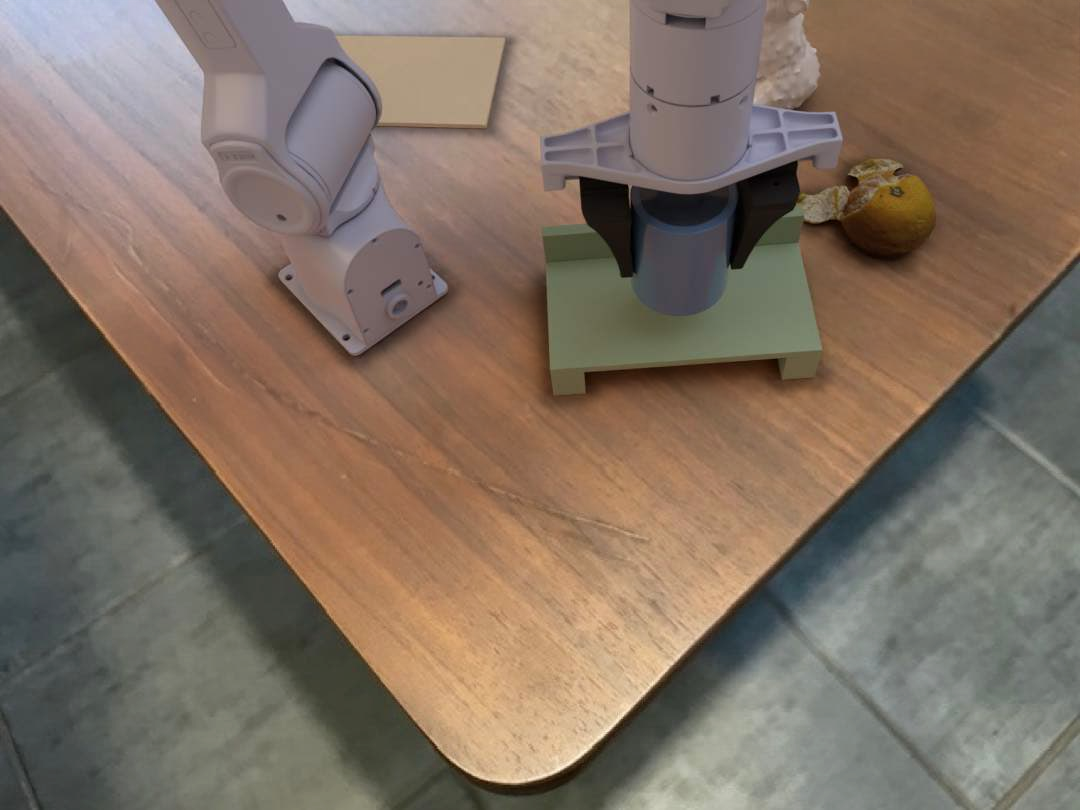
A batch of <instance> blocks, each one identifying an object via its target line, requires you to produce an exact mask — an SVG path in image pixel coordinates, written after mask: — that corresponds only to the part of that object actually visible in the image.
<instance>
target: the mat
mask: <svg viewBox="0 0 1080 810" xmlns="http://www.w3.org/2000/svg"><path fill="white" fill-rule="evenodd" d="M335 36H336V38H337V40H338V42H339V44H340V45H341V47H342V49H343V50H344V51H345V53H346V54H347V55H348V56H349V57H350V58H351V59H352V60H353V61H354V62H355V63H356V64H357V65H358V66H359V67H360V68H361V69H363V70H364V71H365V72H366V74H367V75H368V76H369V77H370V78H371V79H372V81H373V82H374V84H375V85H376V87H377V89H378V91H379V93H380V96H381V99H382V115H381V118H380V120H379V122H378V124H377V125H376V126H375V127H378V126H379V127H407V128H408V127H409V128H447V129H449V128H452V129H487V128H488V123H489V118H490V114H491V110H492V106H493V100H494V96H495V92H496V87H497V83H498V78H499V75H500V68H501V63H502V61H503V60H502V59H503V55H504V50H505V46H506V42H507V41H506V37H504V36H503V37H501V36H500V37H497V36H496V37H490V36H412V35H410V36H409V35H407V36H406V35H335Z"/></svg>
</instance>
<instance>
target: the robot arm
mask: <svg viewBox="0 0 1080 810" xmlns="http://www.w3.org/2000/svg"><path fill="white" fill-rule="evenodd" d="M154 2H155V3H156V5H157V6H158V8H159V9H160V10H161V12H162V13H163V15H164V17H165V18H166V20H167V21H168V22H169V24H170V26H171V27H172V28H173V30H174V31H175V33H176V34H177V36H178V37H179V39H180V40H181V41H182V43H183V44H184V46H185V47H186V49H187V50H188V52H189V53H190V55H191V56H192V58H193V59H194V61H195V63H196V64H197V65H198V67H199V68H200V70H201V71H202V73H203V93H202V94H203V95H202V106H201V119H200V142H201V143H202V146H203V147H204V148H205V149H206V151H207V152H208V153H209V155H210V157H211V158H212V160H213V161H214V164H215V166H216V168H217V173H218V179H219V183H220V185H221V188H222V190H223V192H224V193H225V196H226V197H227V198H228V199H229V201H230V202H231V204H232V205H233V207H235V209H236V210H238V211H239V213H241V214H242V215H243V216H244V217H246V219H248V220H249V221H251V222H252V223H253V224H255V225H257V226H258V227H261V228H262V229H265V230H267V231H270V232H273V233H276V235H277V237H278V239H279V241H280V243H281V245H282V247H283V249H284V252H285V254H286V256H287V258H288V260H289V264H288V265H287V266H285V267H283V268H281V269H280V270H279V272H278V273H277V277H278V279H279V280H280V282H281V283H282V284H283V285H284V286H285V287H286V288H287V289H288V290H289V291H290V293H292V294H293V295H294V297H296V298H297V300H298V301H299V302H300V303H301V304H302V305H303V306H304V307H305V308H306V310H307V311H309V313H311V314H312V316H314V318H315V319H316V320H317V321H318V322H319V323H320V324H321V325H322V326H323V327H324V328H325V330H327V331H328V333H329V334H330V335H331V336H332V337H333V338H334V339H335V340H336V341H337V342H338V343H339V344H340V345H341V346H342V347H343V348H344V349H345V351H347V353H348V354H350V355H351V356H354V357H357V356H360V355H361V354H363V353H364V352H366V351H367V350H369V349H370V348H371V347H373V346H375V345H376V344H377V343H378V342H380V341H382V339H385V338H386V337H387V336H388V335H390V334H391V333H393V332H394V331H395V330H397V329H398V328H399V327H401V326H402V325H404V324H406V323H407V322H408V321H409V320H411V319H412V318H413V317H415V316H417V315H418V314H419V313H421V312H422V311H424V310H425V309H426V308H428V307H429V306H430V305H432V304H433V303H435V302H436V301H438V300H439V299H441V298H442V297H443V296H444V295H445V294H447V293H448V291H449V287H448V283H447V282H446V281H445V280H444V279H442V278H441V276H439V275H438V274H437V273H436V272H435V271H434V270H433V269H432V268H431V267H430V265H429V262H428V258H427V255H426V252H425V248H424V245H423V241H422V239H421V237H420V235H419V234H418V233H417V231H416V230H415V229H414V228H413V227H412V226H411V225H410V224H409V223H408V222H406V220H405V219H404V218H403V217H401V215H400V214H399V213H398V212H397V210H396V209H395V207H394V205H392V203H391V201H390V199H389V197H388V194H387V192H386V190H385V187H384V183H383V180H382V177H381V174H380V171H379V168H378V165H377V161H376V158H375V156H374V154H375V151H376V146H375V142H374V139H373V135H372V133H371V132H372V131H373V130H374V129H375V128H376V127H377V126H376V125H377V124H378V122H379V120H380V118H381V115H382V99H381V96H380V93H379V91H378V89H377V87H376V85H375V84H374V82H373V81H372V79H371V78H370V77H369V76H368V75H367V74H366V72H365V71H364V70H363V69H361V68H360V67H359V66H358V65H357V64H356V63H355V62H354V61H353V60H352V59H351V58H350V57H349V56H348V55H347V54H346V53H345V51H344V50H343V49H342V47H341V45H340V44H339V42H338V40H337V38H336V36H337V35H336V34H335V33H334V31H333V29H331V28H330V27H328V26H325V25H320V24H316V23H310V22H303V21H295V20H294V18H293V16H292V14H291V13H290V11H289V9H288V7H287V6H286V4H285V2H284V0H154ZM766 7H767V0H629V110H628V111H625V112H623V113H620V114H617V115H614V116H611V117H608V118H604V119H602V120H600V121H597V122H593V123H591V124H588V125H585V126H581V127H579V128H576V129H573V130H570V131H566V132H561V133H557V134H548V135H541V136H539V147H540V149H539V150H540V168H541V175H542V184H543V186H542V187H543V191H544V192H555V191H562V190H564V189H565V188H566V187H567V186H566V185H567V183H566V181H576V180H578V181H579V196H580V210H581V213H582V214H581V215H582V216H583V219H584V221H585V224H586V223H587V225H588V226H589V227H591V228H592V229H593V230H595V231H596V232H597V233H598V234H599V235H600V236H601V237H602V238H603V240H604V241H605V242H606V244H607V245H608V246H609V248H610V250H611V251H612V253H613V255H614V257H615V259H616V262H617V264H618V267H619V270H620V277H622V278H628V277H633V262H632V253H631V244H630V233H631V222H632V220H631V210H630V187H629V186H631V187H632V186H637V187H643V188H648V189H654V190H659V191H665V192H670V193H677V194H700V193H705V192H709V191H713V190H716V189H719V188H722V187H724V186H727V185H730V184H733V183H735V182H736V184H737V187H738V192H739V199H738V206H737V214H736V221H735V229H734V236H733V244H732V251H731V259H730V266H731V270H735V269H742V268H743V267H744V265H745V263H746V261H747V259H748V257H749V255H750V254H751V252H752V250H753V249H754V247H755V246H756V244H757V243H758V241H759V240H760V239H761V237H762V236H763V235H764V233H765V232H766V231H767V230H768V229H769V228H770V227H771V226H772V225H773V224H774V223H775V222H776V221H778V220H779V219H780V218H782V217H783V216H784V215H786V214H788V213H789V212H791V211H793V210H794V208H795V206H796V203H797V201H798V198H799V196H800V193H801V186H800V181H799V178H798V173H797V172H798V168H799V167H798V166H799V163H800V162H809V161H810V162H811V161H812V167H813V168H814V169H816V170H829V169H836V168H837V165H838V161H839V157H840V153H841V150H842V145H843V141H844V138H843V134H842V130H841V127H840V124H839V120H838V117H837V112H836V111H802V110H794V109H793V110H788V109H781V108H775V107H769V106H762V105H756V104H753V101H754V93H755V86H756V78H757V71H758V66H759V59H760V51H761V44H762V36H763V29H764V22H765V14H766ZM346 339H347V340H346Z"/></svg>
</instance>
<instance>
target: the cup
mask: <svg viewBox="0 0 1080 810" xmlns="http://www.w3.org/2000/svg"><path fill="white" fill-rule="evenodd" d="M738 199H739V192H738V187H737V184H736V182H735V183H733V184H730V185H727V186H724V187H722V188H719V189H716V190H713V191H709V192H705V193H700V194H677V193H670V192H665V191H659V190H654V189H648V188H643V187H637V186H632V185H631V187H630V191H629V201H630V210H631V220H632V222H631V233H630V244H631V253H632V262H633V277H631V285H632V288H633V291H634V293H635V294H636V296H637V297H638V299H639V300H640V301H641V302H642V303H643V304H644V305H646V306H647V307H648V308H650V309H652V310H654V311H656V312H659V313H661V314H665V315H670V316H689V315H694V314H698V313H700V312H703V311H705V310H707V309H709V308H710V307H712V306H713V305H714V304H715V303H717V302H718V301H719V299H720V298H721V297H722V295H723V294H724V292H725V289H726V286H727V282H728V274H729V267H730V259H731V251H732V244H733V236H734V229H735V221H736V214H737V206H738Z"/></svg>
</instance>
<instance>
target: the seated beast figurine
mask: <svg viewBox="0 0 1080 810" xmlns="http://www.w3.org/2000/svg"><path fill="white" fill-rule="evenodd" d="M810 2H811V0H767V7H766V14H765V22H764V29H763V36H762V44H761V51H760V59H759V66H758V71H757V78H756V86H755V93H754V101H753V104H756V105H762V106H769V107H775V108H781V109H788V110H794V109H799V108H800V107H801V106H802V105H803V103H804V102H805V101H807V99H809V98H810V97H811V95H812V94H813V93H814V91H815V90H816V89H817V88H818V81H819V79H820V78H821V76H822V74H821V73H820V68H821V64H820V62H819V58H818V57H817V48H815V47H812V45H811V43H810V41H808V39H807V36H806V35H805V33H804V32H805V28H804V26H803V23H804V21H805V15H804V14H803V13H807V12H808V9H809V5H810Z"/></svg>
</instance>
